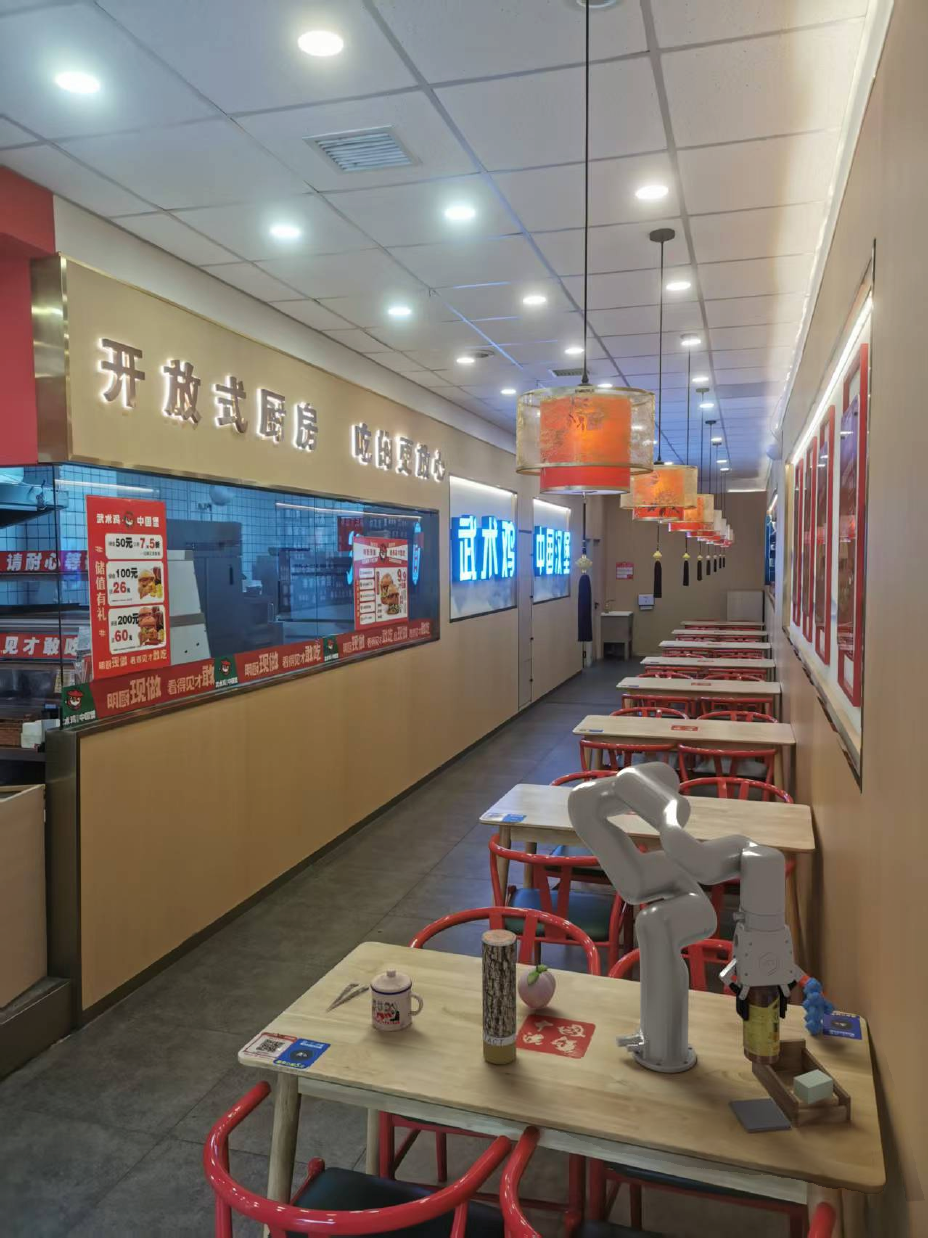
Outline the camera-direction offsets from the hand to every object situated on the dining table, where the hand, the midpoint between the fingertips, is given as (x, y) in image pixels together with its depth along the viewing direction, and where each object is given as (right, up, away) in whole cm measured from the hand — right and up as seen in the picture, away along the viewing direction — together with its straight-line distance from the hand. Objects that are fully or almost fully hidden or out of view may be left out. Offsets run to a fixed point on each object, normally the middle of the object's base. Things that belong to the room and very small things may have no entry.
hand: (761, 1015), depth 158 cm
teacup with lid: (-68, -17, +35) cm, 78 cm away
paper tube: (-46, -18, +21) cm, 54 cm away
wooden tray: (+9, -18, +7) cm, 22 cm away
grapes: (+22, -17, +29) cm, 40 cm away
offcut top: (+10, -15, +2) cm, 19 cm away
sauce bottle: (0, -8, 0) cm, 8 cm away
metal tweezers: (-82, -18, +45) cm, 94 cm away
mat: (0, -19, +1) cm, 19 cm away
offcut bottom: (+10, -19, +2) cm, 22 cm away
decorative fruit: (-37, -17, +40) cm, 57 cm away
